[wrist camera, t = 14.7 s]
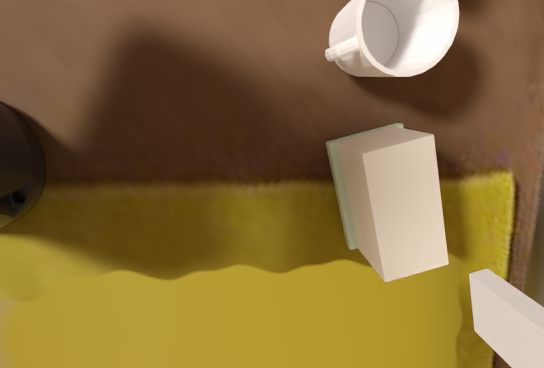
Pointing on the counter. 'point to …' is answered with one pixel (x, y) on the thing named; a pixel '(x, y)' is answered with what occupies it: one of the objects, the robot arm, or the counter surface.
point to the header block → (341, 187)
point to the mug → (392, 36)
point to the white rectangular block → (395, 201)
